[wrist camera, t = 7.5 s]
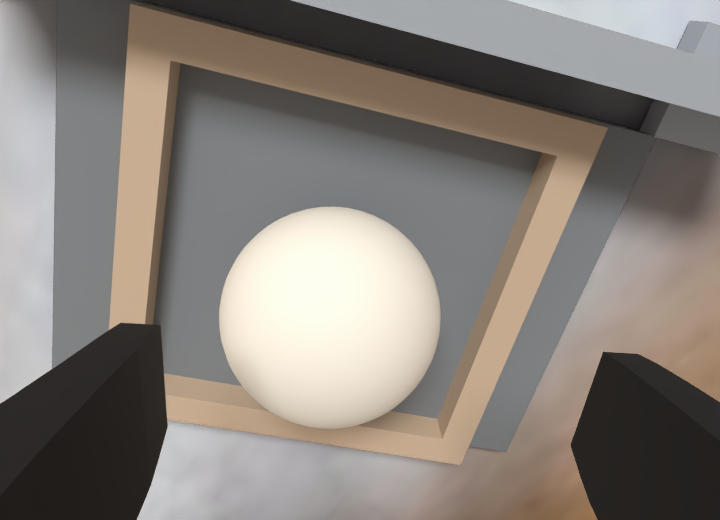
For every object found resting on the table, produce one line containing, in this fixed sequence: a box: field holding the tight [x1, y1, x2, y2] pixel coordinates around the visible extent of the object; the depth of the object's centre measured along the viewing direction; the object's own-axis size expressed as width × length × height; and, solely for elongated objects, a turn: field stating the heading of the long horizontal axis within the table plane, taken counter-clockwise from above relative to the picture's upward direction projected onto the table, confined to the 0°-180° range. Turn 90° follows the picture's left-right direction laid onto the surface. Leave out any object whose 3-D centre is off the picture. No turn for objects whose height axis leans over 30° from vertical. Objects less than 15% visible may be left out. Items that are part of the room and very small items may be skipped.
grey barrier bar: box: [292, 0, 720, 154], centre depth 12 cm, size 20×3×4 cm, turn 76°
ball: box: [219, 206, 441, 429], centre depth 14 cm, size 6×6×6 cm
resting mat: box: [52, 0, 656, 465], centre depth 16 cm, size 16×12×2 cm
